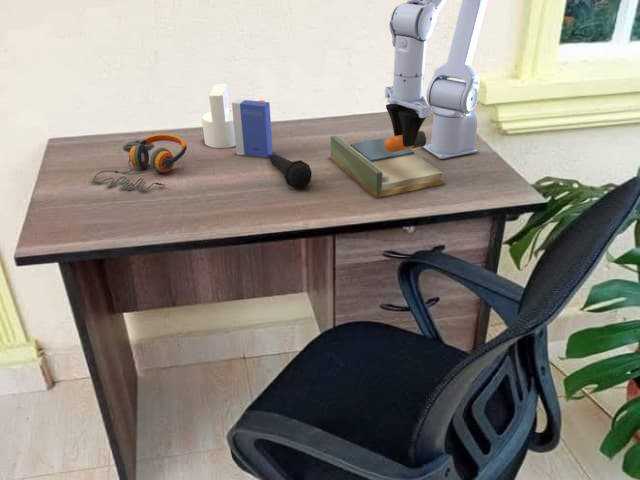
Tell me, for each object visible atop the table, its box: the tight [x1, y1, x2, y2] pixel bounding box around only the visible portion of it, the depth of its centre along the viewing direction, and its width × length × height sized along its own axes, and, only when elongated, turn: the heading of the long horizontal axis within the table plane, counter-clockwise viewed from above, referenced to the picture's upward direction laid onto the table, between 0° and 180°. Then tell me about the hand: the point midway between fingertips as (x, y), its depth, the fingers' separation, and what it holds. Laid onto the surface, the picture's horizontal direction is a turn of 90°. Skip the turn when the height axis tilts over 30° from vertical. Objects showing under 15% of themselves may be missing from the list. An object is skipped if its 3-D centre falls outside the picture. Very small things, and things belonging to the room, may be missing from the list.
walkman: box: [231, 98, 274, 159], centre depth 146 cm, size 8×3×12 cm, turn 71°
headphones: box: [93, 133, 188, 192], centre depth 140 cm, size 17×5×20 cm
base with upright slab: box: [201, 83, 236, 149], centre depth 153 cm, size 9×9×12 cm
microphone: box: [268, 153, 313, 190], centre depth 139 cm, size 6×6×20 cm
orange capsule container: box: [385, 130, 427, 152], centre depth 133 cm, size 9×3×3 cm, turn 113°
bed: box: [330, 135, 444, 199], centre depth 139 cm, size 15×22×5 cm
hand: (404, 142), depth 133 cm, fingers closed on orange capsule container, 3 cm apart
